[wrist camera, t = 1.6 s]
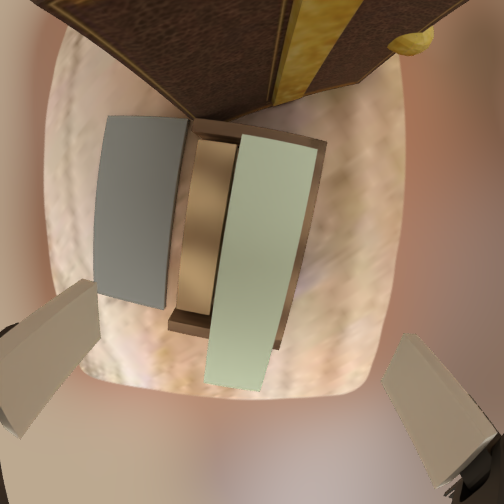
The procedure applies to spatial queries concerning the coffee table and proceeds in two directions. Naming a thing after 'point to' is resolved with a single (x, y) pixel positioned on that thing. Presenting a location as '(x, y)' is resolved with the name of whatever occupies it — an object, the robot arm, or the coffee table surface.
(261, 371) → the pale green slab
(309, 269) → the coffee table surface
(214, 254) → the brown wooden bar
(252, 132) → the frame
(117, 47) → the book
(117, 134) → the mat
